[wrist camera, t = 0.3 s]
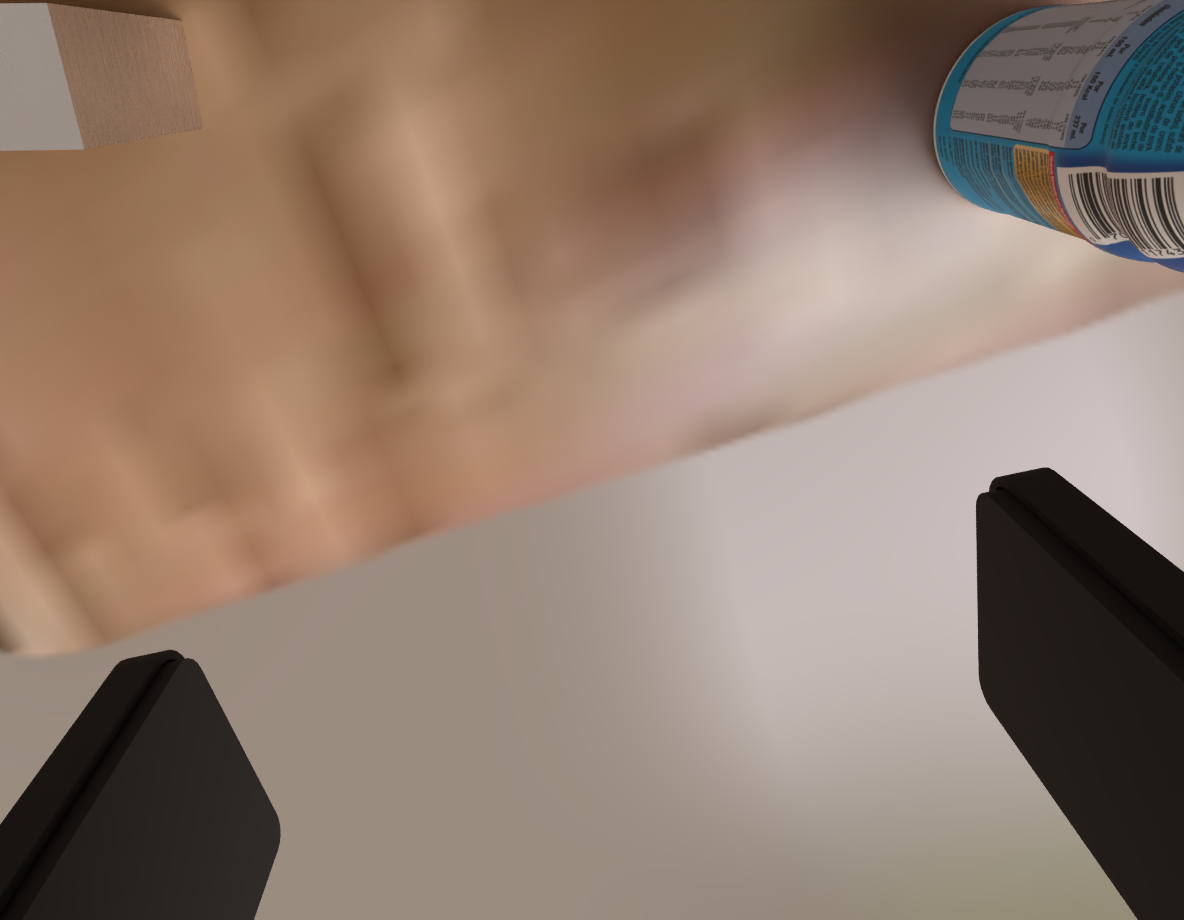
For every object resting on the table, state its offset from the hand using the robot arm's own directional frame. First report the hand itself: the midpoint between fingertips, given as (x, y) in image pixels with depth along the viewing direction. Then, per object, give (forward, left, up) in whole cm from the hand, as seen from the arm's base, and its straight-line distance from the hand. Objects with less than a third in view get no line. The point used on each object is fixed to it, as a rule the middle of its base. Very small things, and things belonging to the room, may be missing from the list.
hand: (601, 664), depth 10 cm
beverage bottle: (-4, +20, -31) cm, 37 cm away
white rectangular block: (-6, -18, -30) cm, 36 cm away
